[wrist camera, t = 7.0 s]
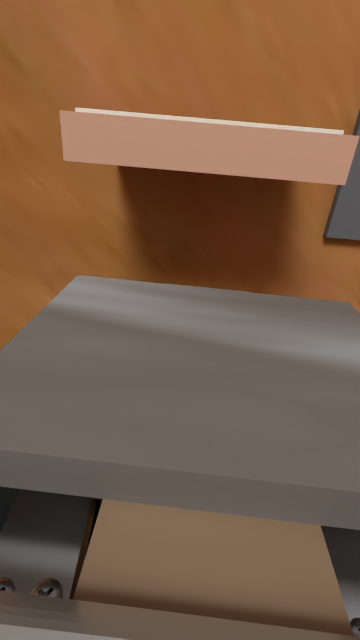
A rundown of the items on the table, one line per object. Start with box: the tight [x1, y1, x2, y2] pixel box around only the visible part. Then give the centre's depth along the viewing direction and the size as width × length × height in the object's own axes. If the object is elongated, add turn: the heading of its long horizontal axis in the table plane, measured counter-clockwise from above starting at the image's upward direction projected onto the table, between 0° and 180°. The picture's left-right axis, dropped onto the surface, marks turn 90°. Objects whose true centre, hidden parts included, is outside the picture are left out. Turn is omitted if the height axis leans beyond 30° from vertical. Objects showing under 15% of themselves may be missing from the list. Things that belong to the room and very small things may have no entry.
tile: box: [59, 108, 360, 185], centre depth 14 cm, size 2×10×8 cm, turn 86°
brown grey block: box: [0, 275, 360, 636], centre depth 8 cm, size 5×8×10 cm, turn 86°
